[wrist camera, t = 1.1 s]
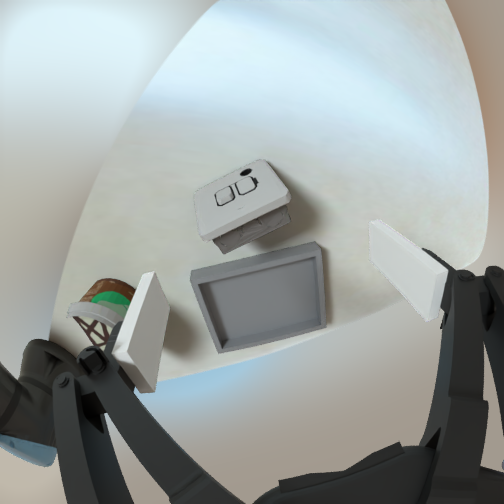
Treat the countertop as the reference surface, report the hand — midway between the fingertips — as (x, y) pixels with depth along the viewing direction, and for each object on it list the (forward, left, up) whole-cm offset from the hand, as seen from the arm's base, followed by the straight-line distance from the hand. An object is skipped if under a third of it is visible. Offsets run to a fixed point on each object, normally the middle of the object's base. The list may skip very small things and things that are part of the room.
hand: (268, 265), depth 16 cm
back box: (0, -16, -19) cm, 25 cm away
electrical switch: (0, 0, -19) cm, 19 cm away
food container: (-19, -11, -19) cm, 29 cm away
